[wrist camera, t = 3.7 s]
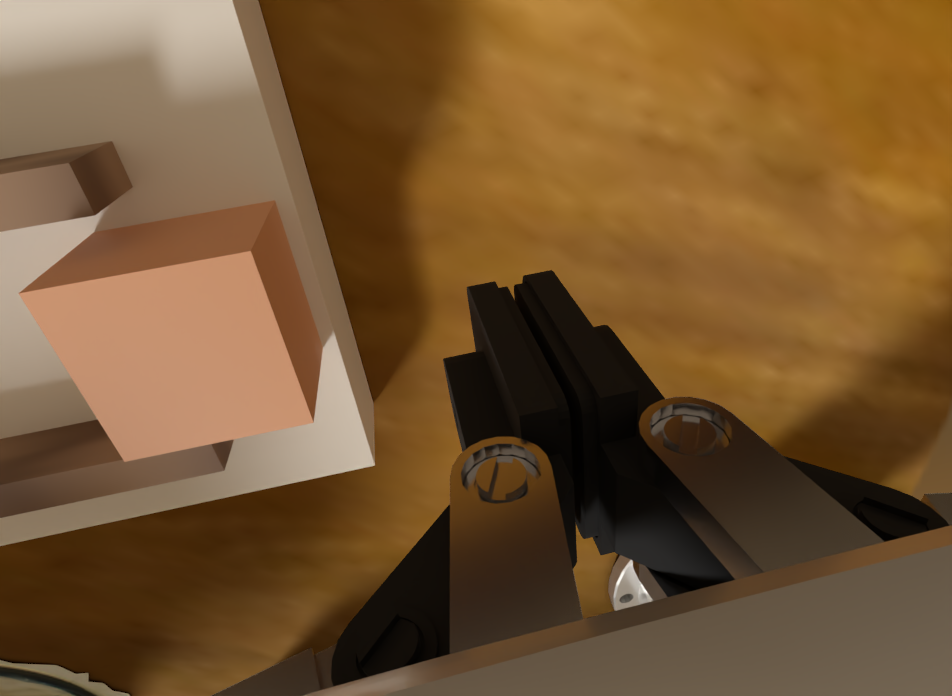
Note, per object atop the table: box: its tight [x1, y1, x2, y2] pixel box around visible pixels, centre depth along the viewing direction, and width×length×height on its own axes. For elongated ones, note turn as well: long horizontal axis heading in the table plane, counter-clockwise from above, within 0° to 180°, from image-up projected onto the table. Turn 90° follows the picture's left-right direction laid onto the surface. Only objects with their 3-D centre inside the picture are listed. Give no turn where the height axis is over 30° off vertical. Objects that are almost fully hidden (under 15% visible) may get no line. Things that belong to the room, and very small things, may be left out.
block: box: [18, 200, 323, 462], centre depth 15 cm, size 5×5×4 cm
